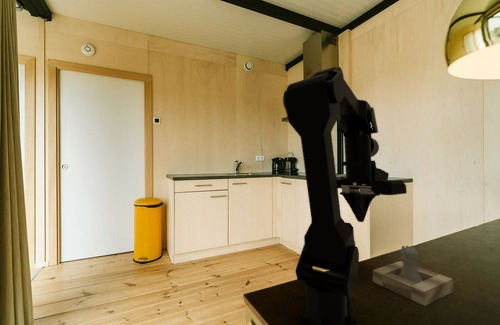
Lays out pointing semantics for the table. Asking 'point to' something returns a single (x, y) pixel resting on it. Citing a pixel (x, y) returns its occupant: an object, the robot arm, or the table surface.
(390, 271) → the socket collar
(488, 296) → the table surface
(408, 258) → the rook chess piece
